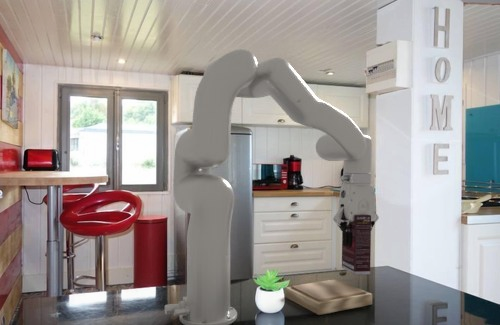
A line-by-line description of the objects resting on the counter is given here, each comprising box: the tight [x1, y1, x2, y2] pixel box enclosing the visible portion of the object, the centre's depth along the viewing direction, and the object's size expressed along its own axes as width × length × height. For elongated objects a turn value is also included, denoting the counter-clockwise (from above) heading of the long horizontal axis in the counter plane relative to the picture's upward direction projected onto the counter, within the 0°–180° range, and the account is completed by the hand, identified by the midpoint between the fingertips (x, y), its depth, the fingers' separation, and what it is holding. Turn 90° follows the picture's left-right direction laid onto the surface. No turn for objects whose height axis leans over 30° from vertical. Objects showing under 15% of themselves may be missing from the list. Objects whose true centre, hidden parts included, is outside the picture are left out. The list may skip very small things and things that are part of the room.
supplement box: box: [341, 214, 372, 276], centre depth 112 cm, size 9×5×16 cm, turn 12°
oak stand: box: [285, 279, 373, 315], centre depth 102 cm, size 16×14×3 cm
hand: (356, 244), depth 112 cm, fingers closed on supplement box, 5 cm apart
